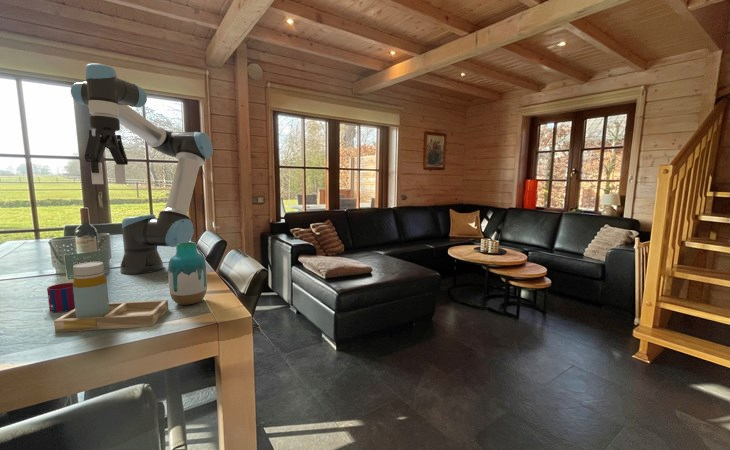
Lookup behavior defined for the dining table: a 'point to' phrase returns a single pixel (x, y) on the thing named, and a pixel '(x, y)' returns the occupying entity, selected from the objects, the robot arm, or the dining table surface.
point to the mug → (61, 297)
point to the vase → (187, 274)
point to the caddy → (116, 317)
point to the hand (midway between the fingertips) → (110, 184)
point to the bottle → (90, 290)
